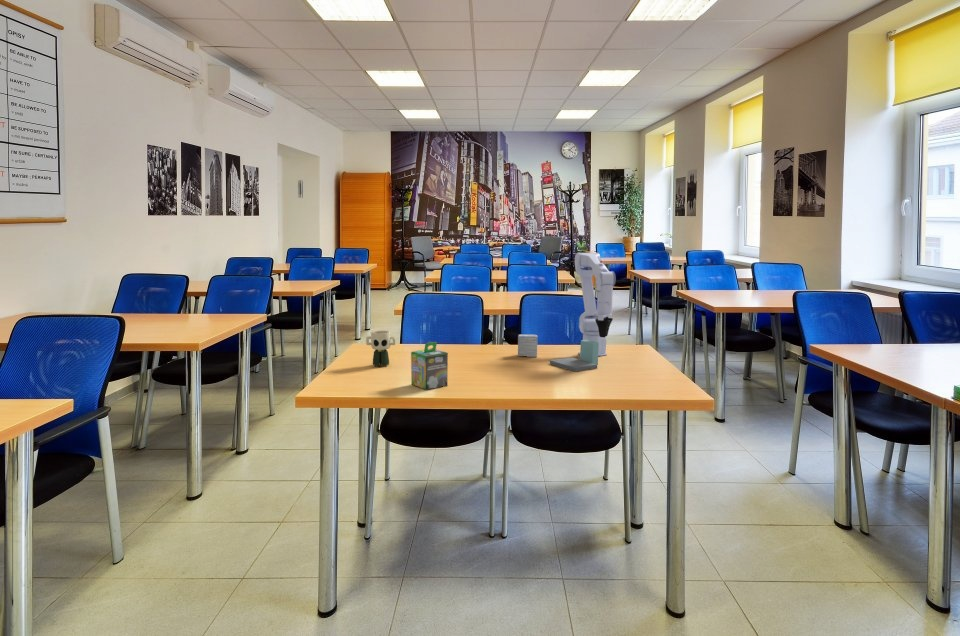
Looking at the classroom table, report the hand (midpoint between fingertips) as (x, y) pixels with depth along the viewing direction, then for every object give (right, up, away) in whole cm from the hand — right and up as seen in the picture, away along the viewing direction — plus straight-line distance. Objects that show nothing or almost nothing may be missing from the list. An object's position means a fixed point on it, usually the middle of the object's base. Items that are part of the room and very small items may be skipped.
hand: (603, 336), depth 252 cm
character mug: (-86, -11, -10) cm, 87 cm away
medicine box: (-29, -9, +12) cm, 33 cm away
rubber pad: (-13, -11, -6) cm, 18 cm away
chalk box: (-66, -15, -38) cm, 77 cm away
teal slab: (-6, -11, -2) cm, 12 cm away
